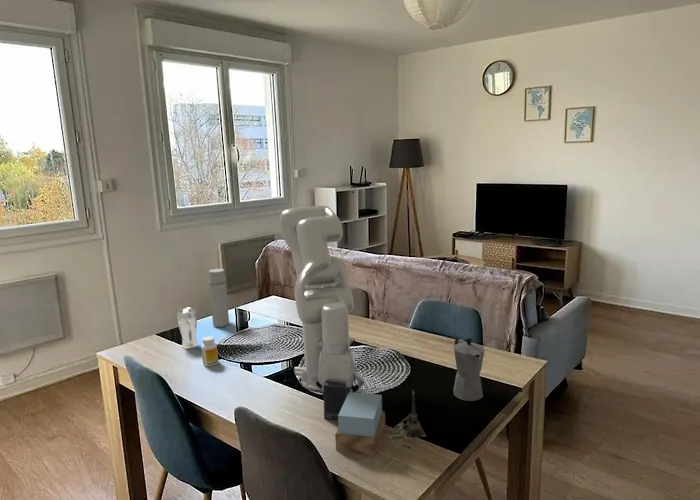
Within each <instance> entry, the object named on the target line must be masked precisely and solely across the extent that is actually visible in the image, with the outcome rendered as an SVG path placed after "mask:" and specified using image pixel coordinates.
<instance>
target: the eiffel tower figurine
mask: <svg viewBox="0 0 700 500" xmlns="http://www.w3.org/2000/svg"><path fill="white" fill-rule="evenodd" d="M411 393H412V396H411V409H410V413H409V414H407V416H405V417H404V418H403V419H402V420H400V422H398V423H397V424H396V425H395V426H394V427H392V428H391V430H389V432H388V435H389V437H390V439H391V440H392V441H395V442H401V441H402V440H403V439H404V437H405V439H406V440H407V439H416V438H424V437H427V434H426V432H425V431H424V429H423V427H422V424H421V423H420V421H419V419H418V414H417V411H416V403H415V402H416V401H415V391H414V390H412V391H411ZM406 420H407V421H406ZM404 421H406V422H405V423H404ZM402 448H406V449H409V450H410V451H416V448H415V447H411V446H409V445H408V444H407V443H406V444H404V445H402Z"/></svg>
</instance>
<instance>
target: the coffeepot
mask: <svg viewBox="0 0 700 500" xmlns="http://www.w3.org/2000/svg"><path fill="white" fill-rule="evenodd" d="M453 352H454V358H455V365H456V371H457V372H456V375H455V380H454V384H453V385H454V386H453V396H454V397H456V398H457V399H459V400H461V401H464V402H475V401H476V402H477V401H479V400H481V399H482V398H484V393H483V386H482V379H481V375H480V374H481V373H480V372H481V371H482V366H483V361H484V357H485V356H484V355H485V348H484V345H481V344H478V343H477V342H472V338H468V337H467V338H466V342H465V340H463V339H462V338H461V337H456V339H455V340H454V344H453Z"/></svg>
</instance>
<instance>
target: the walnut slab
mask: <svg viewBox="0 0 700 500" xmlns="http://www.w3.org/2000/svg"><path fill="white" fill-rule="evenodd" d="M385 429H386V411H383V410H382V414H381V417H380V420H379V423H378V426H377V430H376V433H375V436H374V437H367V436H357V435H348V434H339V427H338V428H337V430H336V432H335V433H334V435H335V438H334V439H335V451H337V452H343V453H350V454H357V455H358V454H359V455H365V456H373V457H375V456H376V453H377V452H378V451H377V450H378V448H379V445H380V443H381V440H382V437H383V434H384V433H385Z"/></svg>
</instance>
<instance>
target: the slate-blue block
mask: <svg viewBox="0 0 700 500" xmlns="http://www.w3.org/2000/svg"><path fill="white" fill-rule="evenodd" d="M382 395H383V394H376V393H375V394H374V393H364V392H363V393H362V392H355V393H353V392H349V393H348V396H347V398H346V400H345V402H344V404H343V406H342V408H341V410H340V412H339V415H338V420H337V421H338V422H337V425H338V428H339V434H348V435H357V436H367V437H374V436H375V433H376V430H377V426H378V423H379V420H380V417H381V414H382V411H383V397H382Z"/></svg>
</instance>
